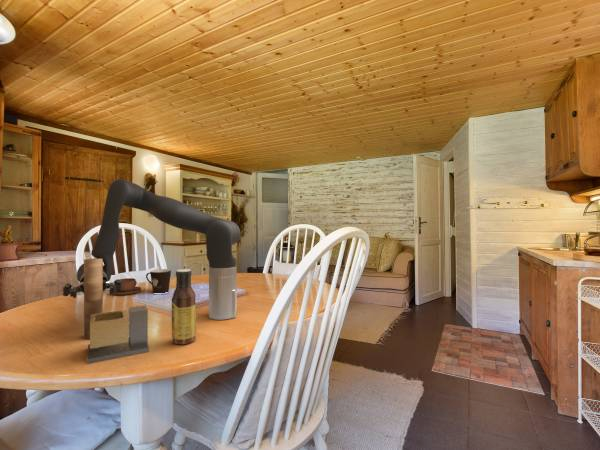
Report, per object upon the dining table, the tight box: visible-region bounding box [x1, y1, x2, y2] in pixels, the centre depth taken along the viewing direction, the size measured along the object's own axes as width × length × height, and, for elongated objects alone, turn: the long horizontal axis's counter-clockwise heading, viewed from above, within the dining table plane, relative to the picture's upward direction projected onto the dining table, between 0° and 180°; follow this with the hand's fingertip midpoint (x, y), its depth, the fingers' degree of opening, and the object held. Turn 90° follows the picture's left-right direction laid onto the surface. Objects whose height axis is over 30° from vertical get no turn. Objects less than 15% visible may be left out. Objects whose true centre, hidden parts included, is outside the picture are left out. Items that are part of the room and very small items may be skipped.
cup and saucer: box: [111, 277, 142, 296], centre depth 141 cm, size 12×12×6 cm
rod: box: [83, 257, 104, 341], centre depth 90 cm, size 4×4×22 cm
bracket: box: [86, 304, 150, 364], centre depth 81 cm, size 10×13×10 cm
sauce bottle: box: [171, 268, 197, 345], centre depth 87 cm, size 7×6×20 cm
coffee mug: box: [145, 268, 172, 294], centre depth 143 cm, size 12×9×10 cm
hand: (93, 292), depth 88 cm, fingers open, 8 cm apart
